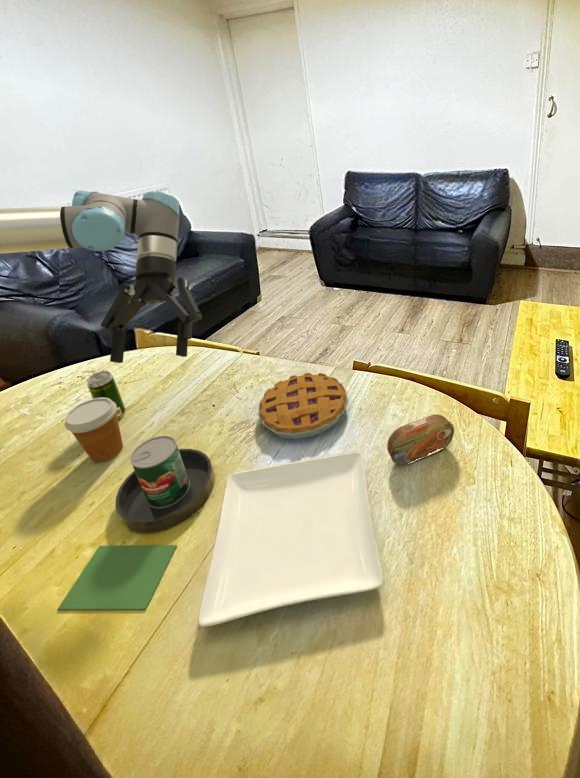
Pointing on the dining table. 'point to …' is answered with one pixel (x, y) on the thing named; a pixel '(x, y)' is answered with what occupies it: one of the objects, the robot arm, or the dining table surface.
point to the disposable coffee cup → (96, 428)
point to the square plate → (291, 538)
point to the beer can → (106, 390)
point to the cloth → (119, 578)
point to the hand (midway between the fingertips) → (148, 359)
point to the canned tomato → (160, 471)
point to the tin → (419, 439)
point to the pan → (152, 520)
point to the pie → (303, 406)
